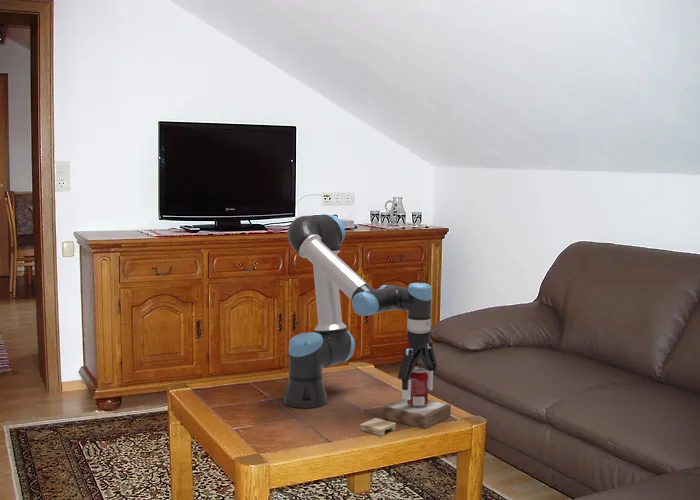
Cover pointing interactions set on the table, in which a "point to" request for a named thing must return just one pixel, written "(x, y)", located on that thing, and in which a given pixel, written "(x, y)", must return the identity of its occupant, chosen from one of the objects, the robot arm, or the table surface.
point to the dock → (417, 413)
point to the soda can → (418, 388)
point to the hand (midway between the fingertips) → (417, 394)
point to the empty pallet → (377, 426)
